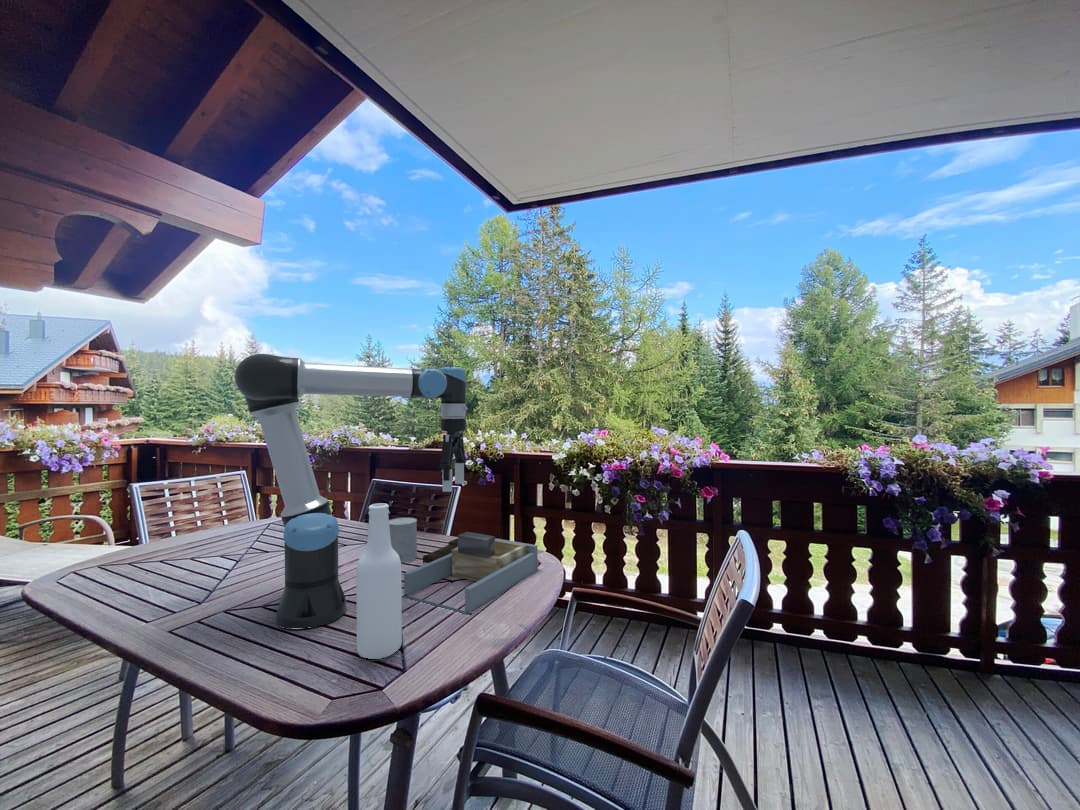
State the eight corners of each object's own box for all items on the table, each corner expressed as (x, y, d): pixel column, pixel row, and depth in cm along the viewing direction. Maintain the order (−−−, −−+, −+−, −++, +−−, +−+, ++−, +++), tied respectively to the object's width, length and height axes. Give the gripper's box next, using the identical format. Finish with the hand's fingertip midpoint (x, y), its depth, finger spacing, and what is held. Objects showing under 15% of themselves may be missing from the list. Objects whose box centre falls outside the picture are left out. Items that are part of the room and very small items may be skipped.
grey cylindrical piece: (381, 561, 150) (381, 523, 150) (398, 552, 159) (398, 516, 159) (406, 563, 147) (406, 525, 147) (422, 554, 156) (422, 518, 156)
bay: (470, 616, 109) (470, 581, 109) (404, 598, 120) (404, 565, 120) (537, 573, 137) (537, 545, 137) (478, 561, 148) (478, 535, 148)
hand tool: (431, 568, 143) (431, 553, 143) (422, 566, 145) (421, 551, 145) (467, 551, 160) (467, 538, 160) (458, 549, 162) (458, 536, 162)
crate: (497, 588, 123) (496, 541, 123) (448, 577, 132) (448, 533, 132) (527, 570, 137) (526, 528, 137) (481, 561, 145) (481, 521, 145)
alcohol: (403, 656, 92) (402, 507, 92) (355, 665, 89) (354, 511, 89) (400, 636, 100) (399, 499, 100) (357, 643, 97) (356, 502, 97)
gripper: (454, 419, 127) (454, 495, 127) (474, 417, 152) (475, 480, 152) (428, 419, 128) (428, 495, 128) (452, 417, 153) (452, 480, 153)
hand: (453, 487), depth 140 cm, fingers open, 13 cm apart
